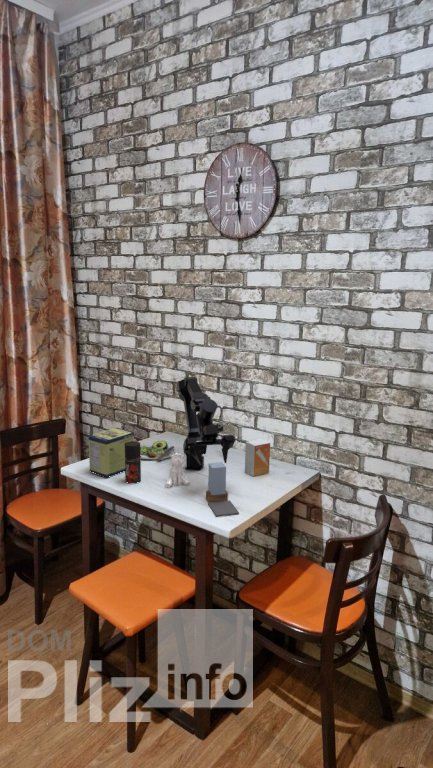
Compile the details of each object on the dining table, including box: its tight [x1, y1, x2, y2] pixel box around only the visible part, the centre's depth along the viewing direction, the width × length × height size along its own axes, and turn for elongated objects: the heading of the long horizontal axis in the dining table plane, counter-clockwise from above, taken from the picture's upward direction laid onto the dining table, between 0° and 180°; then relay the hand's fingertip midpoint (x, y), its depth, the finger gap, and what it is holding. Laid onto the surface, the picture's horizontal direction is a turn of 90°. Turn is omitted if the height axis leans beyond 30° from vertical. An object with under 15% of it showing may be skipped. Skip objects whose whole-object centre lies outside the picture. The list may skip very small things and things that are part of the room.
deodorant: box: [124, 440, 142, 484], centre depth 201 cm, size 6×6×15 cm
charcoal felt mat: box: [207, 500, 240, 518], centre depth 179 cm, size 10×8×1 cm
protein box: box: [88, 427, 135, 478], centre depth 212 cm, size 10×16×16 cm
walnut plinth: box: [205, 489, 229, 504], centre depth 186 cm, size 4×7×3 cm, turn 106°
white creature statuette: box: [164, 452, 191, 489], centre depth 200 cm, size 10×9×12 cm
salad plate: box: [140, 440, 175, 462], centre depth 232 cm, size 19×18×5 cm
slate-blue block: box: [207, 461, 227, 495], centre depth 185 cm, size 5×5×10 cm
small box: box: [244, 438, 271, 477], centre depth 212 cm, size 8×6×13 cm
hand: (213, 463), depth 189 cm, fingers open, 9 cm apart
